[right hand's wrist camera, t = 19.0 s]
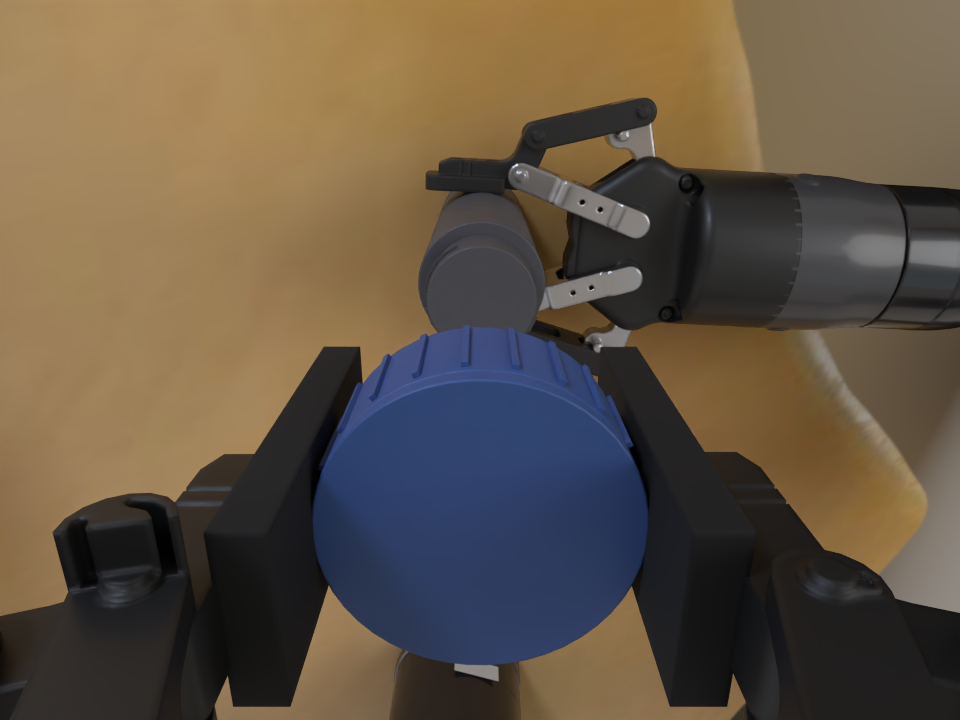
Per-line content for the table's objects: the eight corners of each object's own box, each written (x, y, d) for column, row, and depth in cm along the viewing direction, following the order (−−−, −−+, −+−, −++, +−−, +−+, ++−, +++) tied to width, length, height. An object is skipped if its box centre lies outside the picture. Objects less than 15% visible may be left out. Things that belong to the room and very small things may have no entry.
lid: (679, 403, 12) (724, 471, 10) (534, 612, 13) (544, 712, 11) (414, 268, 11) (398, 309, 9) (293, 510, 13) (254, 595, 10)
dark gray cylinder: (429, 235, 39) (390, 331, 23) (463, 162, 38) (448, 207, 21) (498, 269, 40) (511, 386, 23) (534, 198, 39) (576, 270, 22)
